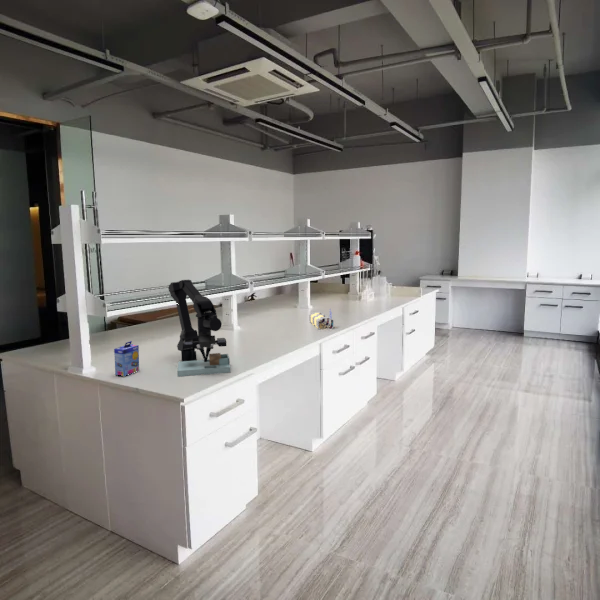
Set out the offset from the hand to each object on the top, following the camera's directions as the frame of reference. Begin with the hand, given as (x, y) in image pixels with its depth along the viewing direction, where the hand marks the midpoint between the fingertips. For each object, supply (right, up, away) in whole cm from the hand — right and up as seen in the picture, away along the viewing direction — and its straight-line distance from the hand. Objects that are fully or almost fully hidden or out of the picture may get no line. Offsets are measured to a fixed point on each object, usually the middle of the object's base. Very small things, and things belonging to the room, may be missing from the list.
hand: (205, 361), depth 203 cm
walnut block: (+4, -1, +1) cm, 4 cm away
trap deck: (-1, -4, 0) cm, 4 cm away
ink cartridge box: (-33, -5, -4) cm, 34 cm away
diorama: (+57, +10, +98) cm, 113 cm away
